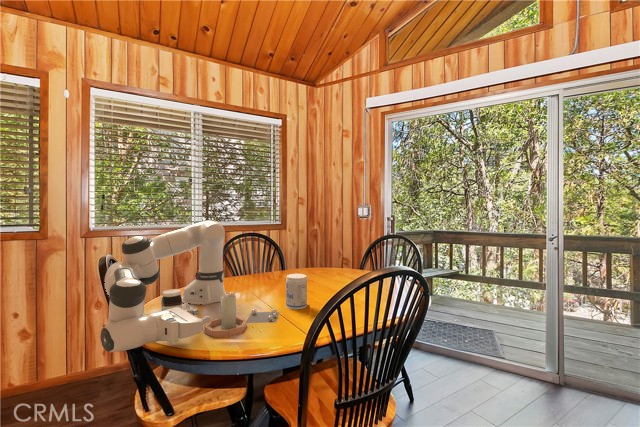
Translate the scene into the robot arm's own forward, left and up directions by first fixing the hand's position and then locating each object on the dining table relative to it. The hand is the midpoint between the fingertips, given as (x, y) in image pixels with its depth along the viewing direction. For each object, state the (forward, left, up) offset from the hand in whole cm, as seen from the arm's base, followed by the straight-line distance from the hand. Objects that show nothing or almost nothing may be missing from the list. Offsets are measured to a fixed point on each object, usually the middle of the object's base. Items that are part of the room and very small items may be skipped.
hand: (203, 314), depth 113 cm
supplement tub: (+31, +32, -8) cm, 46 cm away
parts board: (+18, +18, -8) cm, 27 cm away
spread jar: (-17, +19, -9) cm, 27 cm away
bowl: (+6, +6, -8) cm, 12 cm away
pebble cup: (+7, +7, -8) cm, 13 cm away
